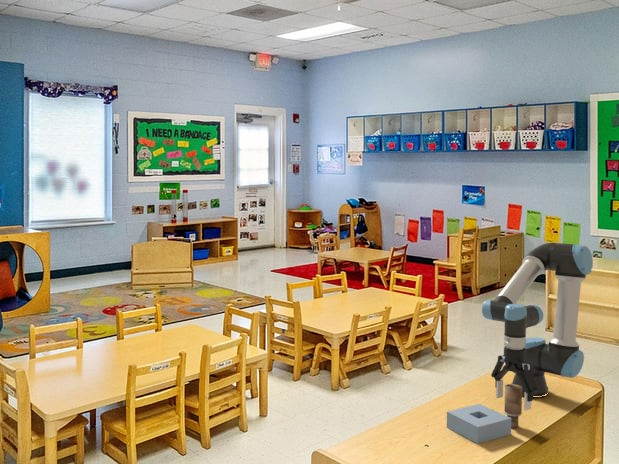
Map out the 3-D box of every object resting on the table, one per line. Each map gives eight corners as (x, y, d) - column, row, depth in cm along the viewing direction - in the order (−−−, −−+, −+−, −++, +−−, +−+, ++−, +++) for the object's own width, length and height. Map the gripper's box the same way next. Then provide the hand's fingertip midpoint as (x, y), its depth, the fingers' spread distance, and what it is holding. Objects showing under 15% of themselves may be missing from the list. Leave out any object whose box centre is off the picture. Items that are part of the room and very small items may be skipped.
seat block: (479, 418, 236) (479, 403, 235) (511, 434, 222) (511, 418, 221) (446, 427, 228) (446, 411, 228) (477, 443, 214) (477, 427, 214)
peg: (512, 421, 233) (513, 383, 232) (524, 427, 228) (526, 387, 226) (500, 424, 230) (501, 385, 229) (512, 430, 225) (513, 390, 223)
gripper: (482, 340, 235) (481, 394, 237) (534, 357, 213) (532, 416, 215) (497, 337, 239) (495, 391, 241) (549, 354, 217) (547, 412, 219)
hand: (513, 403), depth 228 cm, fingers open, 13 cm apart
